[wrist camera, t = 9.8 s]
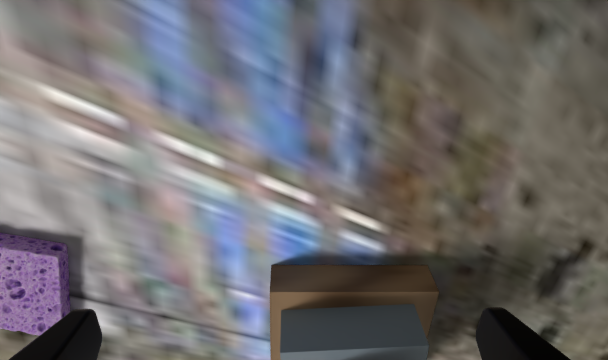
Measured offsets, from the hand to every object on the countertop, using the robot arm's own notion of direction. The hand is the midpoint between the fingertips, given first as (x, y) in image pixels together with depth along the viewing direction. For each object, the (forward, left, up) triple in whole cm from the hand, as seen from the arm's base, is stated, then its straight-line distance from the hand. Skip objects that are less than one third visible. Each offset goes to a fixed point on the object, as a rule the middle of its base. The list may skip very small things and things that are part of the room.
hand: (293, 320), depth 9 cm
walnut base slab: (-4, +15, -14) cm, 20 cm away
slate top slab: (-4, +15, -11) cm, 19 cm away
